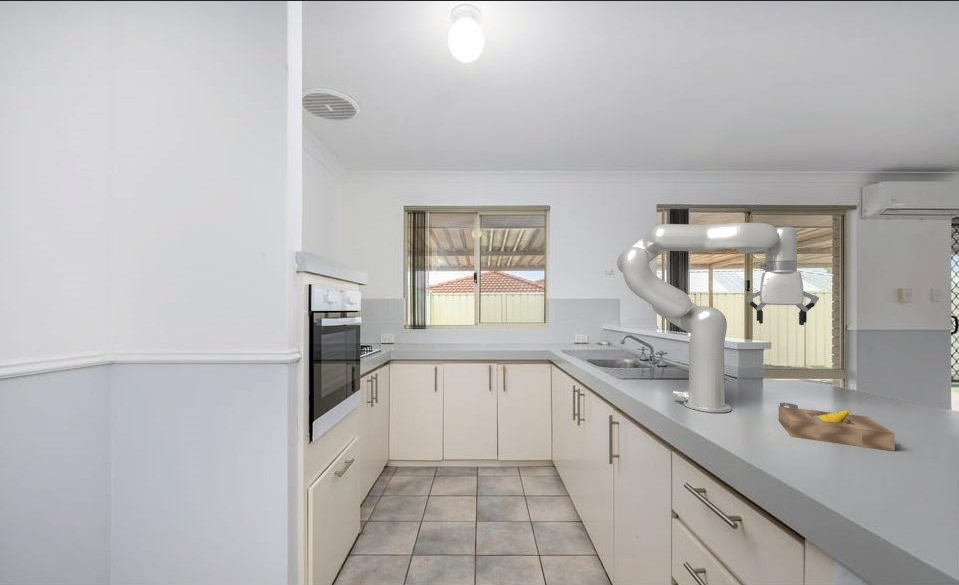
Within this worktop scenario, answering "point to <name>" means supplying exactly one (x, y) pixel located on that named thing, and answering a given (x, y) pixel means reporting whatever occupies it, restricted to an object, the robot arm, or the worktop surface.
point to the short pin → (788, 405)
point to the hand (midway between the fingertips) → (780, 324)
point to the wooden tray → (836, 429)
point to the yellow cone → (833, 416)
